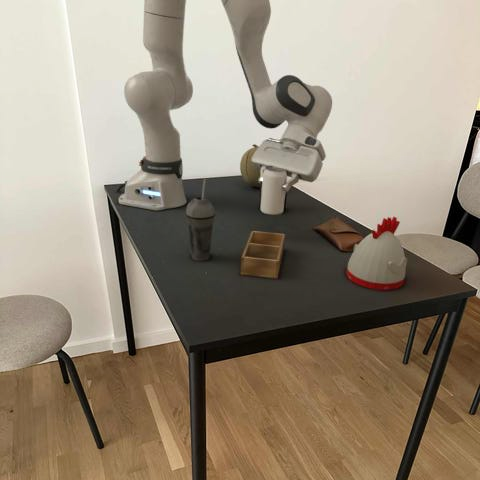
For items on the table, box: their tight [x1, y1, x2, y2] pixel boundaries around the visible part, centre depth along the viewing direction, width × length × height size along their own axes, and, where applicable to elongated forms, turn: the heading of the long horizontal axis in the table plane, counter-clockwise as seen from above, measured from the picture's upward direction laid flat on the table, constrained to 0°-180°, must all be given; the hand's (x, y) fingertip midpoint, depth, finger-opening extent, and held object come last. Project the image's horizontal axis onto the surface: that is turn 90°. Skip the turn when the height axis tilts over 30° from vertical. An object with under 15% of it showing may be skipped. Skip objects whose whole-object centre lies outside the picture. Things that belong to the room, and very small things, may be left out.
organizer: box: [240, 230, 286, 279], centre depth 116 cm, size 9×17×5 cm, turn 171°
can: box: [260, 165, 288, 216], centre depth 125 cm, size 6×6×12 cm
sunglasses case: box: [313, 215, 366, 252], centre depth 132 cm, size 18×7×7 cm
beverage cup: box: [185, 178, 216, 262], centre depth 113 cm, size 7×7×20 cm
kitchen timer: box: [345, 216, 408, 291], centre depth 109 cm, size 14×14×15 cm
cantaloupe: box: [239, 143, 262, 189], centre depth 170 cm, size 15×15×15 cm
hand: (272, 186), depth 124 cm, fingers closed on can, 6 cm apart
